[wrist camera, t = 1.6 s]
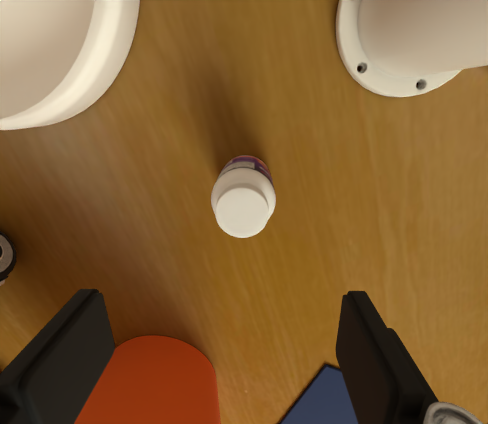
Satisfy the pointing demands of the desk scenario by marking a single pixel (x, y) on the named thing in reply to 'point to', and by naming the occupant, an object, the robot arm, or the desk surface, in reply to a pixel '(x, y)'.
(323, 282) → the desk surface
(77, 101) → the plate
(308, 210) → the desk surface
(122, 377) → the flowerpot
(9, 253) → the headset
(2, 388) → the robot arm
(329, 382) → the mat
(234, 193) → the pill bottle
